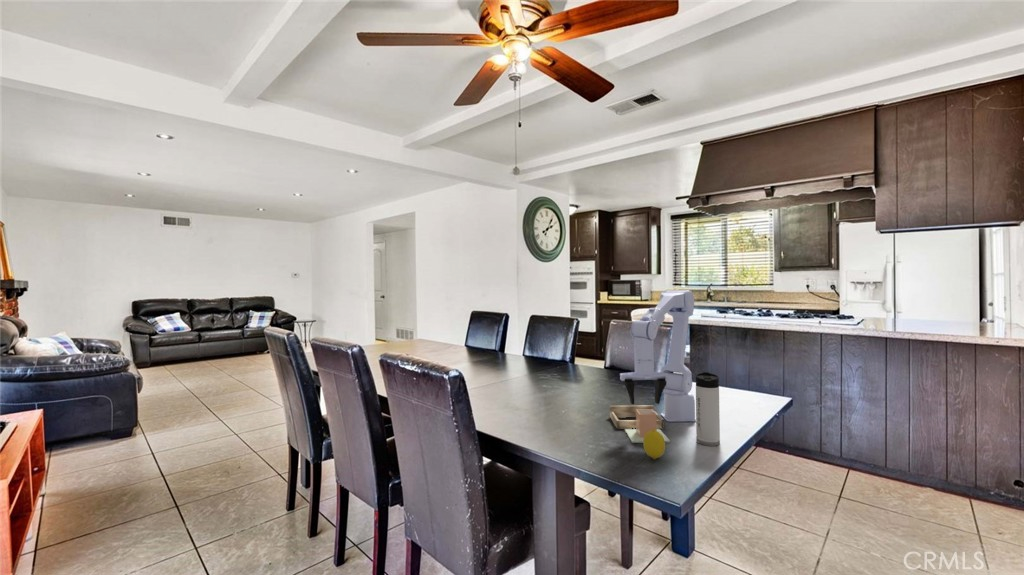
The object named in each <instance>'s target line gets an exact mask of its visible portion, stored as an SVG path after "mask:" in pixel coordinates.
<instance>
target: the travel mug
mask: <svg viewBox="0 0 1024 575" xmlns="http://www.w3.org/2000/svg"><path fill="white" fill-rule="evenodd" d="M695 420H696V421H695V426H696V427H695V428H696V429H695V430H696V431H695V432H696V433H695V434H696V435H695V437H696V442H697V443H699V444H700V445H702V444H703V445H702V446H706V445H707V447H708V446H709V447H716V445H717V446H719V445H720V444H721V434H720V433H721V432H720V431H721V429H720V420H721V419H720V378H719V376H718V375H716V374H715V373H710V371H703V372H700V373H697V374H696V375H695Z"/></svg>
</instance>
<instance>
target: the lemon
mask: <svg viewBox="0 0 1024 575" xmlns="http://www.w3.org/2000/svg"><path fill="white" fill-rule="evenodd" d="M642 445H643V450H644V451H645V453H646V454H647V456H648V457H650V458H652V459H653V460H657V458H660V457H662V456H663V454H664V453H665V451H666V442H665V441H664V438H663V436H662V435H661V433H659V432H658V431H656V430H654V429H653V430H652V431H649V432H647V433H646V435H645V437H644V441H643V444H642Z"/></svg>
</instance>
